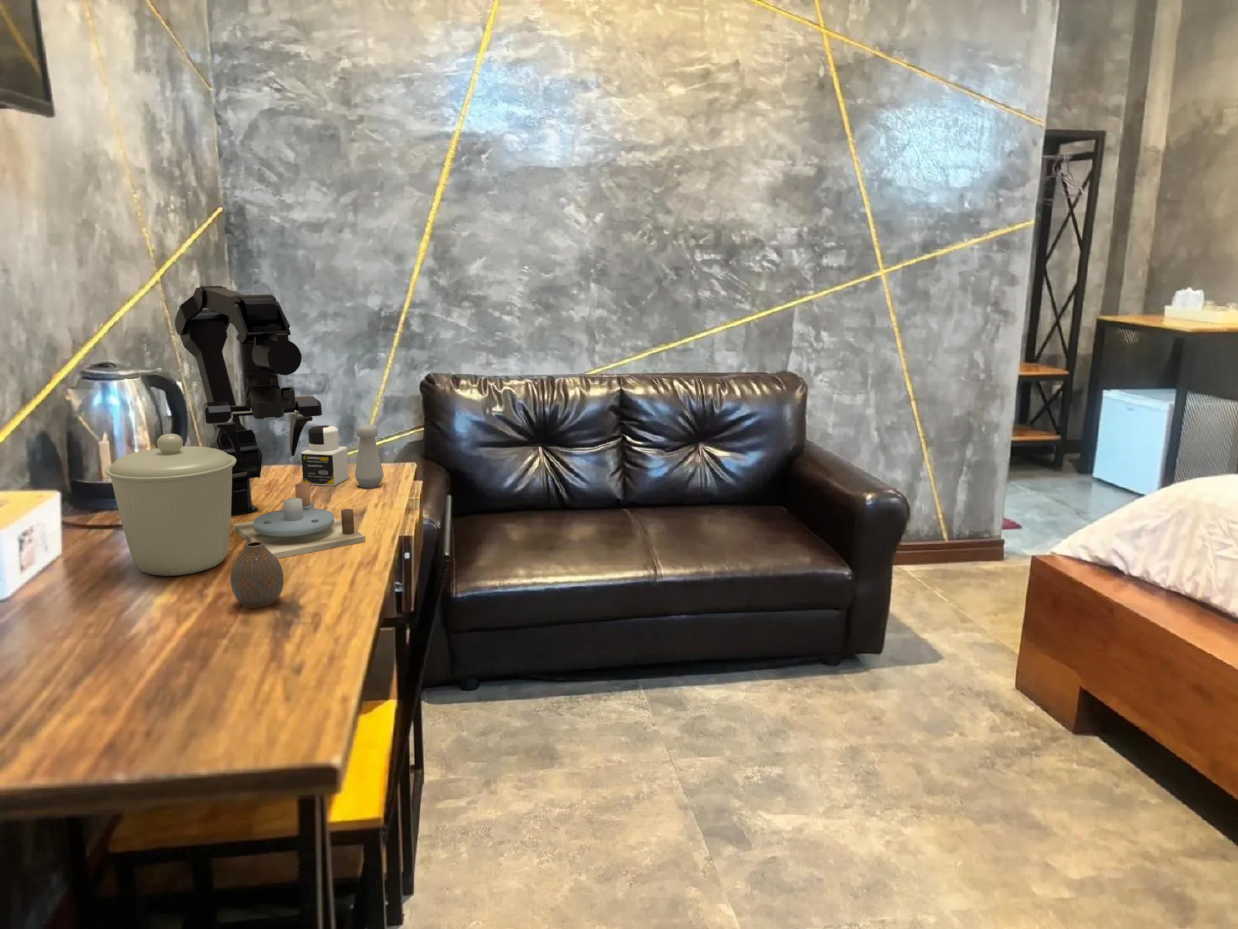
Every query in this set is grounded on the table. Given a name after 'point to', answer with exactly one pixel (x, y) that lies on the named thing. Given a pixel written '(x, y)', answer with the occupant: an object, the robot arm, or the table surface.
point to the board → (306, 537)
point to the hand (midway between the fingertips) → (266, 458)
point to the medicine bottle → (324, 458)
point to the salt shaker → (368, 458)
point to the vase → (256, 576)
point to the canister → (174, 506)
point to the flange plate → (294, 525)
